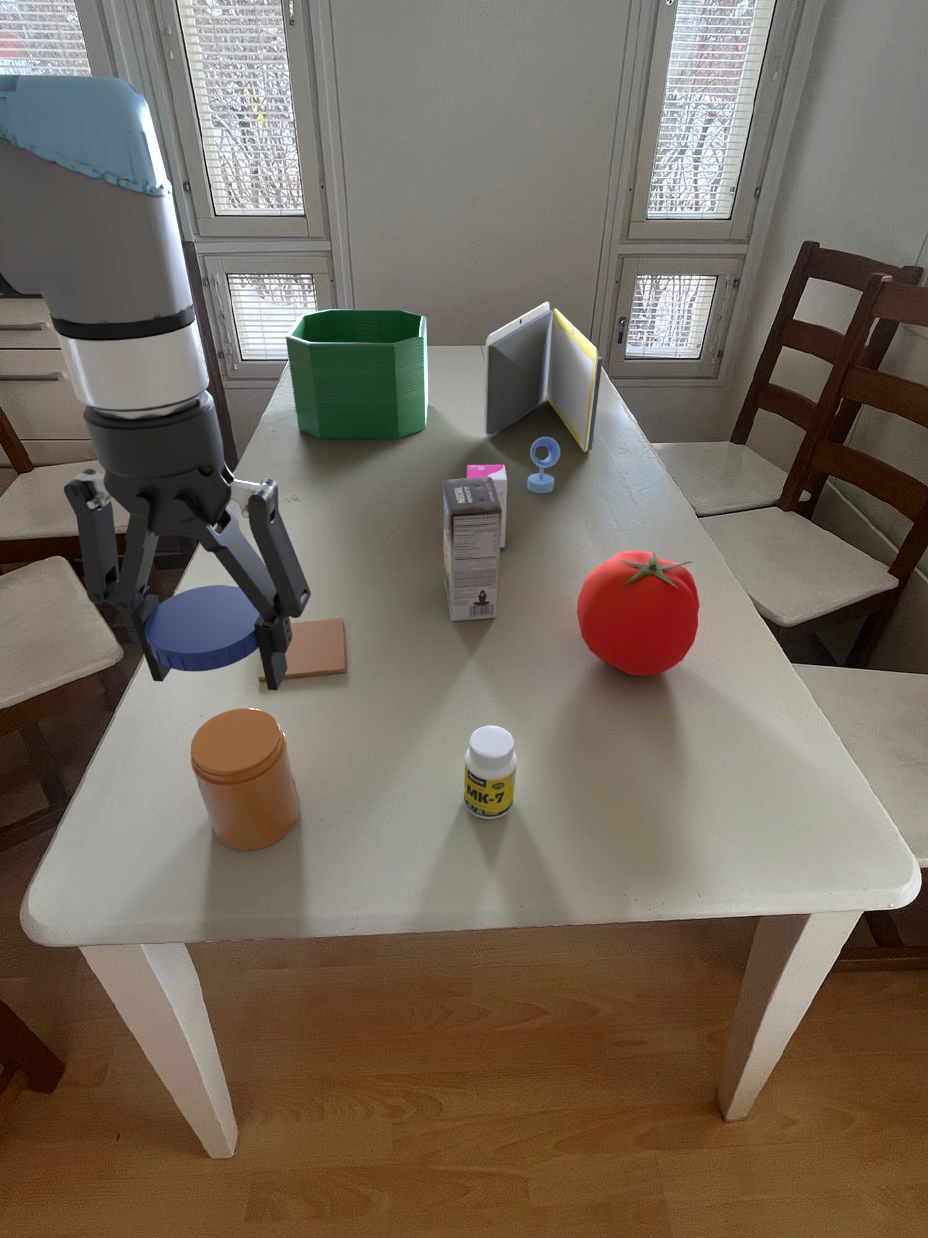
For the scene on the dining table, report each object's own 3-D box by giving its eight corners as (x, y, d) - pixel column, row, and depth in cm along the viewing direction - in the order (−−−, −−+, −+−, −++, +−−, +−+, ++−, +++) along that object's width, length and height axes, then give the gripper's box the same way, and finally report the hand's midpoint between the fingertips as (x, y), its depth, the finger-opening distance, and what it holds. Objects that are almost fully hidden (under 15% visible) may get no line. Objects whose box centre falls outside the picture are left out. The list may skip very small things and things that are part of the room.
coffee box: (442, 583, 97) (441, 477, 87) (487, 580, 97) (491, 475, 88) (450, 623, 89) (450, 512, 80) (499, 619, 90) (504, 509, 80)
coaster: (258, 681, 80) (258, 677, 80) (264, 629, 88) (263, 625, 88) (345, 672, 82) (345, 668, 81) (343, 621, 89) (342, 617, 89)
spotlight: (556, 497, 117) (552, 479, 123) (562, 441, 111) (558, 425, 117) (527, 497, 117) (525, 479, 123) (531, 441, 111) (528, 425, 117)
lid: (279, 602, 57) (276, 584, 56) (253, 673, 50) (249, 654, 49) (172, 600, 57) (167, 583, 56) (131, 671, 50) (124, 653, 49)
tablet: (604, 452, 132) (619, 347, 121) (493, 460, 129) (497, 352, 117) (554, 390, 160) (562, 300, 148) (461, 395, 157) (462, 303, 145)
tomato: (708, 689, 80) (737, 592, 71) (595, 705, 77) (612, 606, 69) (652, 610, 92) (671, 519, 84) (553, 622, 90) (563, 529, 81)
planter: (293, 439, 136) (279, 343, 125) (314, 393, 157) (303, 308, 146) (425, 439, 137) (422, 344, 126) (428, 394, 157) (426, 309, 146)
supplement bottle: (458, 815, 65) (458, 755, 60) (470, 777, 69) (471, 717, 64) (508, 825, 65) (512, 765, 60) (517, 786, 68) (522, 727, 63)
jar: (207, 856, 62) (179, 780, 55) (218, 786, 68) (194, 710, 62) (298, 844, 63) (281, 768, 57) (300, 776, 69) (285, 701, 63)
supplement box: (502, 531, 108) (506, 463, 101) (504, 551, 103) (508, 481, 97) (465, 531, 108) (466, 463, 101) (466, 551, 103) (466, 481, 96)
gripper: (335, 384, 44) (362, 654, 58) (18, 369, 46) (117, 636, 59) (302, 428, 38) (340, 718, 52) (-62, 410, 40) (69, 696, 53)
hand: (221, 674), depth 56 cm, fingers closed on lid, 9 cm apart
